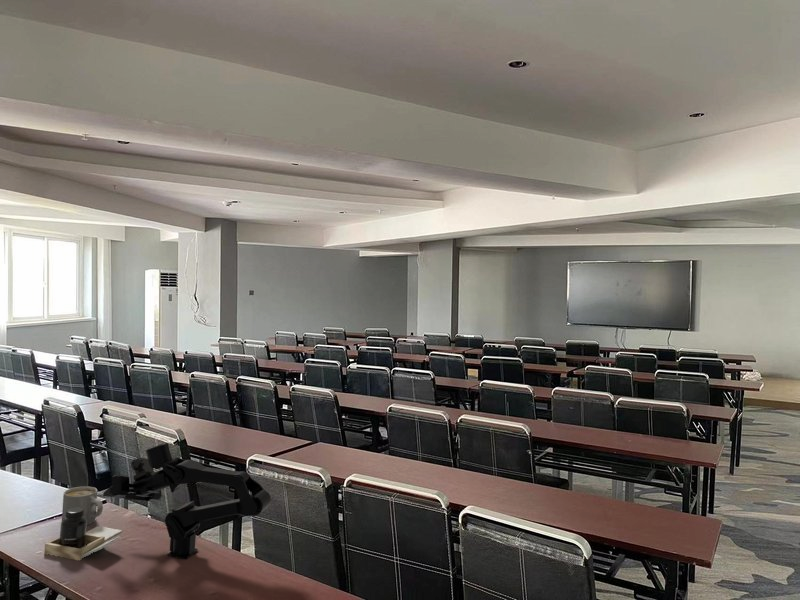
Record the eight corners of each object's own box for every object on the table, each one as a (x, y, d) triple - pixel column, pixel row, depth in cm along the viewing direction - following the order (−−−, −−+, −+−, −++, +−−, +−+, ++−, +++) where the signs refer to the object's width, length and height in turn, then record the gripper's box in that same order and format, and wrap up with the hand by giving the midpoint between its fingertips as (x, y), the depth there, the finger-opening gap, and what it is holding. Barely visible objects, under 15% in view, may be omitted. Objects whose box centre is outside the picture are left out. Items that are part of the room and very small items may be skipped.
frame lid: (121, 550, 174) (122, 535, 174) (100, 562, 165) (101, 546, 165) (100, 546, 175) (101, 531, 175) (79, 558, 167) (80, 542, 167)
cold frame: (104, 546, 176) (104, 536, 176) (79, 560, 166) (79, 550, 166) (70, 540, 178) (71, 530, 178) (44, 553, 169) (44, 543, 169)
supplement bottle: (64, 557, 168) (67, 516, 168) (54, 549, 172) (57, 509, 172) (89, 549, 173) (91, 510, 173) (78, 542, 177) (81, 503, 177)
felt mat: (121, 531, 187) (122, 530, 187) (101, 542, 178) (101, 541, 178) (98, 527, 189) (98, 526, 189) (77, 538, 180) (77, 536, 180)
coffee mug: (54, 522, 190) (56, 492, 190) (82, 513, 199) (84, 484, 199) (82, 531, 185) (84, 500, 185) (109, 521, 194) (111, 492, 194)
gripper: (175, 459, 189) (135, 474, 191) (135, 450, 172) (91, 466, 175) (177, 494, 183) (136, 508, 186) (135, 487, 167) (91, 503, 170)
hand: (114, 495), depth 179 cm, fingers open, 9 cm apart
